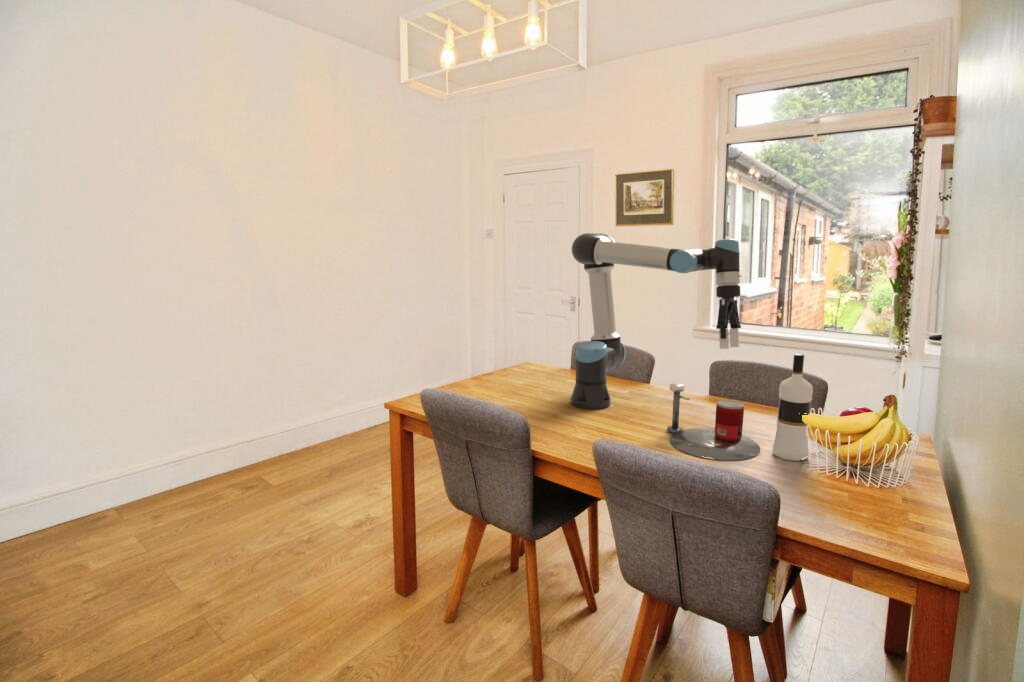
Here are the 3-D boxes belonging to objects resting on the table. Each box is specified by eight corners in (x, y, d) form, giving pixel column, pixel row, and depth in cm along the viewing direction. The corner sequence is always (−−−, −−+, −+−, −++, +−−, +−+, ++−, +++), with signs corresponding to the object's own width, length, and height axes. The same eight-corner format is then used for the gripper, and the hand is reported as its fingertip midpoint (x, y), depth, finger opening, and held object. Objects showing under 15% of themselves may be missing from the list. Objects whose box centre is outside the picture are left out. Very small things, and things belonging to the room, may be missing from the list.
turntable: (656, 431, 174) (656, 430, 174) (731, 427, 177) (731, 426, 177) (692, 463, 148) (692, 462, 148) (779, 457, 152) (779, 456, 152)
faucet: (663, 430, 174) (665, 384, 171) (673, 427, 177) (675, 382, 174) (682, 436, 169) (684, 389, 166) (691, 433, 172) (694, 386, 169)
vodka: (766, 455, 153) (775, 354, 148) (779, 447, 160) (788, 349, 154) (800, 465, 147) (811, 359, 141) (813, 456, 153) (823, 354, 147)
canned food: (744, 442, 163) (746, 407, 161) (716, 440, 165) (718, 406, 163) (738, 433, 170) (741, 400, 168) (712, 432, 172) (714, 399, 170)
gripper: (730, 282, 168) (731, 349, 168) (748, 286, 188) (749, 346, 188) (706, 284, 172) (707, 349, 173) (726, 288, 192) (727, 346, 193)
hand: (729, 348), depth 180 cm, fingers open, 13 cm apart
